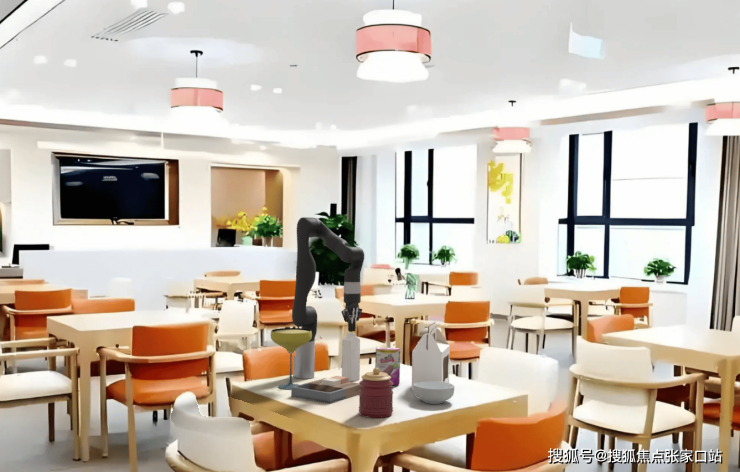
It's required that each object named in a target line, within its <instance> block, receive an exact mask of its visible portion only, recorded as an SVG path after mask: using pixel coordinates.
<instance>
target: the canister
mask: <svg viewBox="0 0 740 472" xmlns="http://www.w3.org/2000/svg"><path fill="white" fill-rule="evenodd" d="M361 379H362V380H359V384H360V386H361V388H360V391H359V393H360V394H358V395H359V402H358V403H359V404H358V412H359V415H360V416H363V417H365V418H374V419H381V418H382V419H383V418H389V417H391V416H392V415H393V412H394V407H393V401H394V400H393V398H394V397H393V396H394V395H393V394H394V391H393V386H394V385H393V382H392V381H390V379H391V376H389V375H388V374H387V373H384V372H380V370H379V368H375V367H374V368H373V369H372V371H369V372H366V373H364V374H363V375H361Z"/></svg>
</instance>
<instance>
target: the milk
mask: <svg viewBox="0 0 740 472" xmlns="http://www.w3.org/2000/svg"><path fill="white" fill-rule="evenodd" d="M341 341H342V342H341V344H342V345H341V350H342V351H341V353H342V354H341V376H342V377H348V382H355V381H361V379H360V375H361V374H360V370H361V366H360V365H361V364H360V363H361V338H359V337H357V333H355V332H349V331H347V332H346V335H345V336H344V337H343V338H342V340H341Z"/></svg>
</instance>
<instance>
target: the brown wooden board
mask: <svg viewBox="0 0 740 472" xmlns="http://www.w3.org/2000/svg"><path fill="white" fill-rule="evenodd" d="M327 378H328V377H326V378H325V377H324V378H321V379H317V380H313V381H312V380H311V381H309V382H308V383H310V389H311V390H317V391H323V392H329V393H330V392H333V391H337V390H340V389H343V388H344V389H346V399H348V398H351V397H355V396H357V395H360V393H359V391H360V388H361V386H360V384H359V383H358V382H354V381H351V382H350V381H348V382H347V383H343V384H340V385H336V386H329V385H323V384H322V380H323V379H327Z"/></svg>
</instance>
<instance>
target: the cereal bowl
mask: <svg viewBox="0 0 740 472" xmlns="http://www.w3.org/2000/svg"><path fill="white" fill-rule="evenodd" d="M413 390H414V391H413V393H414V395H415V397H417V398H418V399H420V400H422V401H423V402H424V403H425V404H430V405H438V404H443V403H444V402H447V401H448V400H450V399H451V398H452V397H453V396H454V393H455V385H454V384H453V383H450V382H449V383H446V382H438V381H424V382H417V383H414V384H413Z"/></svg>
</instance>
